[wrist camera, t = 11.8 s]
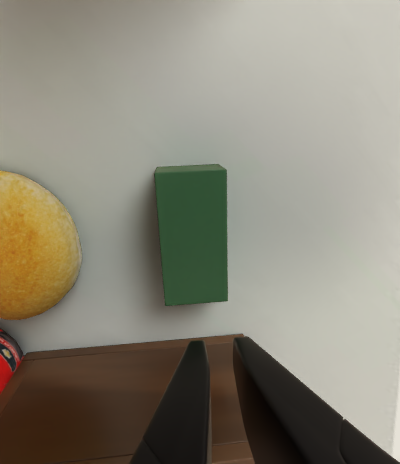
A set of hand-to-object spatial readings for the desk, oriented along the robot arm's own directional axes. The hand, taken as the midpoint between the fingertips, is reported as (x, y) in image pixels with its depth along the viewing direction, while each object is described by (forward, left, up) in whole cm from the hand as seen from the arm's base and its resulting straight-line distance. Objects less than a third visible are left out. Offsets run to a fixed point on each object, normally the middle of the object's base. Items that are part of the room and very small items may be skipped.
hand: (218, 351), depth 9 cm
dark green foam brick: (0, 0, -11) cm, 11 cm away
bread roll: (-11, 0, -11) cm, 16 cm away
